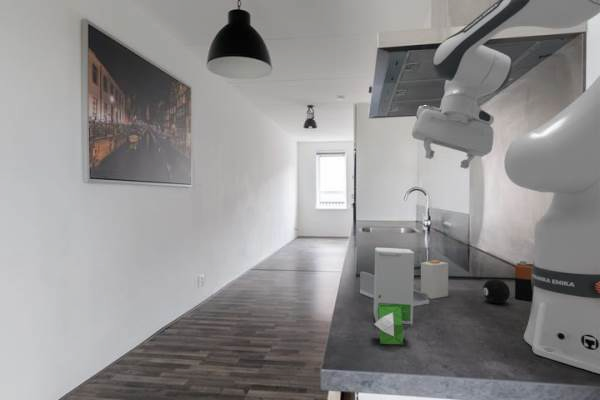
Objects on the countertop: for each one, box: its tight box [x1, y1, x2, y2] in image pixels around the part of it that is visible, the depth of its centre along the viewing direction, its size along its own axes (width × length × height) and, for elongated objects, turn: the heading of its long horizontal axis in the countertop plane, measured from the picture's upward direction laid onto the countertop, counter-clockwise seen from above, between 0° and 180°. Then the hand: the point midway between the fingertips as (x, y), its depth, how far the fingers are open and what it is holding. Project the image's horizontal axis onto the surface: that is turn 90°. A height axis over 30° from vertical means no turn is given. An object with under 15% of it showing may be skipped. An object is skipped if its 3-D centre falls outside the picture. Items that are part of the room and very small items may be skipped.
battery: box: [514, 260, 534, 302], centre depth 97 cm, size 4×7×10 cm, turn 54°
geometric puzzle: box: [371, 306, 412, 346], centre depth 69 cm, size 7×7×8 cm
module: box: [420, 259, 449, 300], centre depth 101 cm, size 4×6×10 cm, turn 116°
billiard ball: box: [482, 278, 511, 304], centre depth 94 cm, size 6×6×6 cm
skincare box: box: [373, 246, 415, 325], centre depth 82 cm, size 8×7×16 cm
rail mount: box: [359, 271, 430, 307], centre depth 99 cm, size 16×10×6 cm, turn 26°
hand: (446, 162), depth 94 cm, fingers open, 8 cm apart
